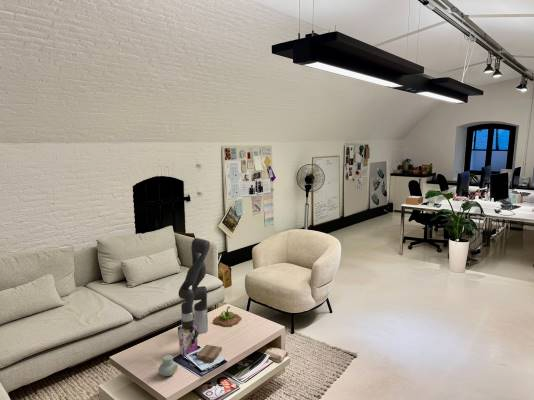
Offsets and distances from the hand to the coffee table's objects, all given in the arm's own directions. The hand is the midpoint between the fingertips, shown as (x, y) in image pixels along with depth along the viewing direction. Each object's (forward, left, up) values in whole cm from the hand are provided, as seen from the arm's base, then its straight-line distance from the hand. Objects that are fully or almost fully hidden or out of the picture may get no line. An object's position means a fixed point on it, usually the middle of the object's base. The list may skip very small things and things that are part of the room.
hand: (188, 342), depth 244 cm
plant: (+7, +47, -7) cm, 48 cm away
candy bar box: (0, 0, -7) cm, 7 cm away
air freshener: (0, -24, -7) cm, 25 cm away
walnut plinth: (+15, 0, -6) cm, 16 cm away
